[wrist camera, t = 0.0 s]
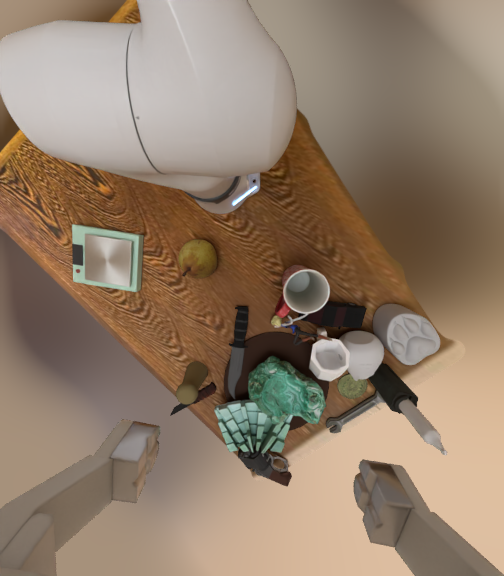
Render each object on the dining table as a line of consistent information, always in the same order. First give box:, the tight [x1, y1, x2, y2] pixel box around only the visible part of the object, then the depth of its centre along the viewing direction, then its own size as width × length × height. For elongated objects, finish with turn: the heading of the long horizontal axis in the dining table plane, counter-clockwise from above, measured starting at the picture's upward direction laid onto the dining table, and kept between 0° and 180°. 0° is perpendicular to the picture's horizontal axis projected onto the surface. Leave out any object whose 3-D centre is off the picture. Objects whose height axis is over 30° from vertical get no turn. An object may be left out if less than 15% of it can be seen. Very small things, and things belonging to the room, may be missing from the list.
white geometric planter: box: [309, 327, 350, 381], centre depth 58 cm, size 12×9×10 cm
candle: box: [368, 363, 447, 455], centre depth 53 cm, size 5×5×25 cm
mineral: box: [248, 356, 326, 425], centre depth 58 cm, size 18×16×10 cm
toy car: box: [298, 301, 366, 329], centre depth 59 cm, size 7×16×5 cm, turn 82°
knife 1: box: [171, 382, 216, 415], centre depth 69 cm, size 17×1×3 cm
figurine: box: [271, 314, 332, 345], centre depth 55 cm, size 10×9×20 cm
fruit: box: [179, 239, 217, 278], centre depth 54 cm, size 9×9×12 cm
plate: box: [224, 332, 329, 431], centre depth 65 cm, size 28×28×4 cm
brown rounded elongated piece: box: [176, 362, 208, 405], centre depth 62 cm, size 6×6×11 cm
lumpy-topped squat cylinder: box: [373, 304, 440, 365], centre depth 57 cm, size 10×13×9 cm
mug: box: [275, 265, 330, 318], centre depth 53 cm, size 13×9×14 cm
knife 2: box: [228, 306, 248, 399], centre depth 62 cm, size 25×2×5 cm
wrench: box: [326, 390, 386, 433], centre depth 67 cm, size 5×2×20 cm
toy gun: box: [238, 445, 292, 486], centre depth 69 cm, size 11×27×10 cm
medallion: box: [337, 373, 367, 399], centre depth 66 cm, size 8×8×1 cm
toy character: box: [338, 331, 384, 381], centre depth 59 cm, size 10×10×12 cm
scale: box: [72, 225, 144, 292], centre depth 59 cm, size 14×16×3 cm
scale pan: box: [85, 234, 132, 287], centre depth 57 cm, size 11×11×1 cm
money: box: [214, 400, 293, 453], centre depth 62 cm, size 20×16×5 cm
